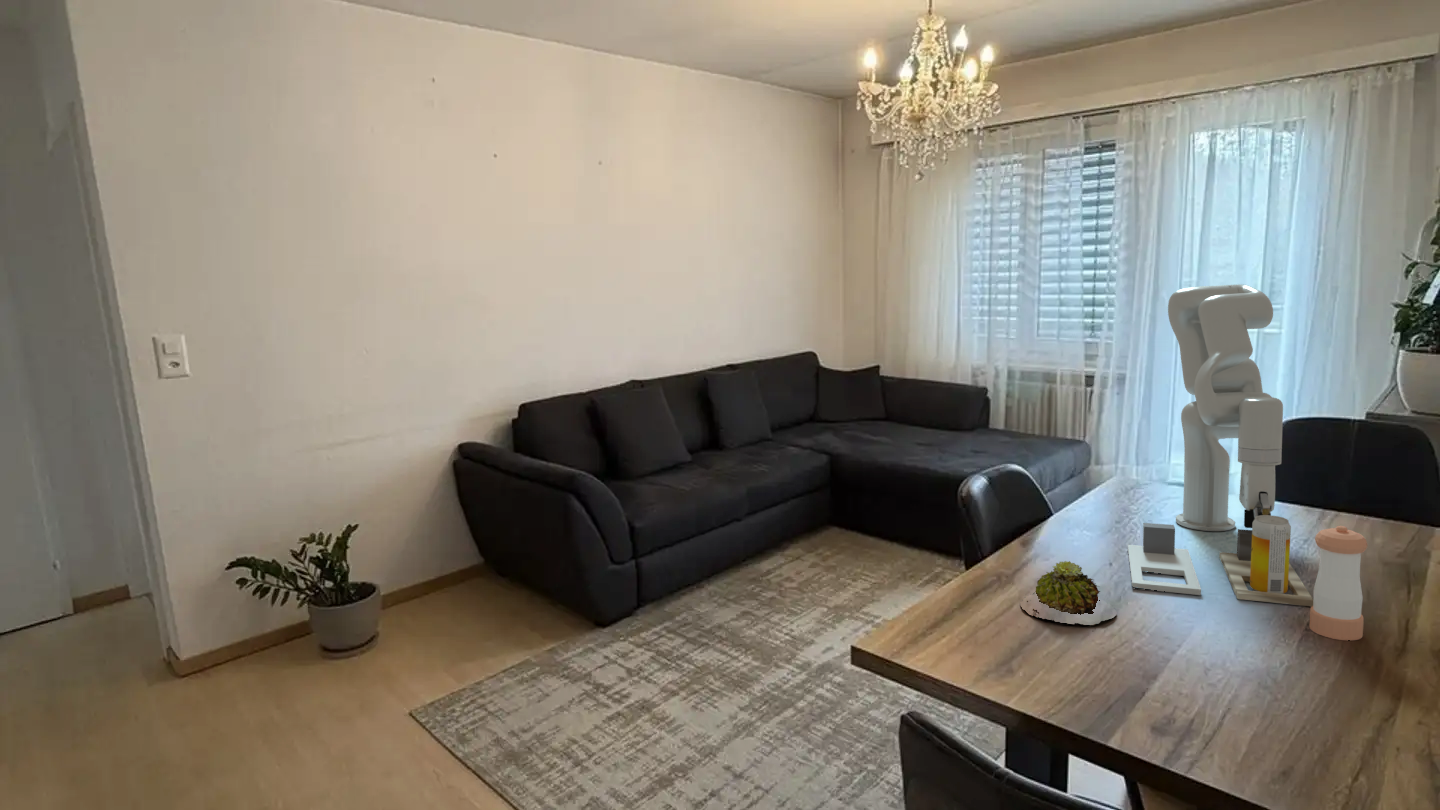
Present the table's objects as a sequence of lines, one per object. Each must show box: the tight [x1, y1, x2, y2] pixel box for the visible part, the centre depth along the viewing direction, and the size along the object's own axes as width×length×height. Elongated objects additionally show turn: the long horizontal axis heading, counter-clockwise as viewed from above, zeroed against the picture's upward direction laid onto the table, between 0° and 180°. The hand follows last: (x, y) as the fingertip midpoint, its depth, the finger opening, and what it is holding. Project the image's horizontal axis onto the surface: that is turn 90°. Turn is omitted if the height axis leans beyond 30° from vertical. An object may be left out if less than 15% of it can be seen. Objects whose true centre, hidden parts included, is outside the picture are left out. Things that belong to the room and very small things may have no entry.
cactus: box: [1034, 560, 1101, 615], centre depth 147 cm, size 17×16×10 cm
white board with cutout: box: [1127, 522, 1202, 596], centre depth 163 cm, size 24×12×7 cm, turn 154°
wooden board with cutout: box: [1218, 528, 1313, 607], centre depth 155 cm, size 24×12×7 cm, turn 154°
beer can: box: [1249, 514, 1292, 594], centre depth 149 cm, size 6×6×15 cm
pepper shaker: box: [1308, 525, 1369, 641], centre depth 131 cm, size 7×7×19 cm
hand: (1257, 534), depth 161 cm, fingers open, 9 cm apart
